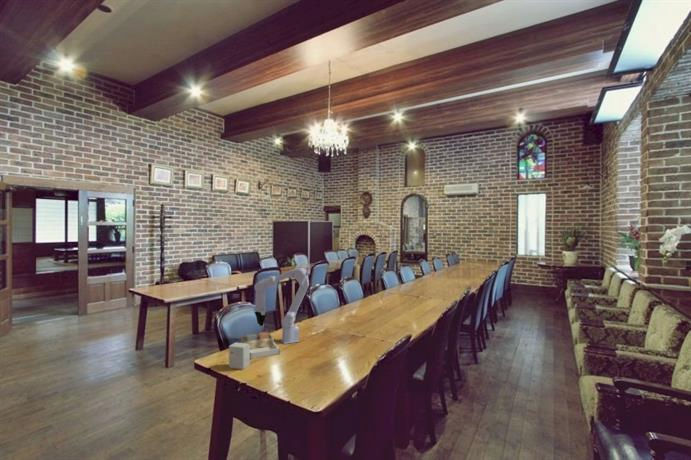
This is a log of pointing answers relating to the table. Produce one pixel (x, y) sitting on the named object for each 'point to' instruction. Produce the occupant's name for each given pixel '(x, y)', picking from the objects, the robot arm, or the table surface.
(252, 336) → the slate tile
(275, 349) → the tray
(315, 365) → the table surface
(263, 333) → the terracotta tile
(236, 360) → the small box
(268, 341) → the bench plate
